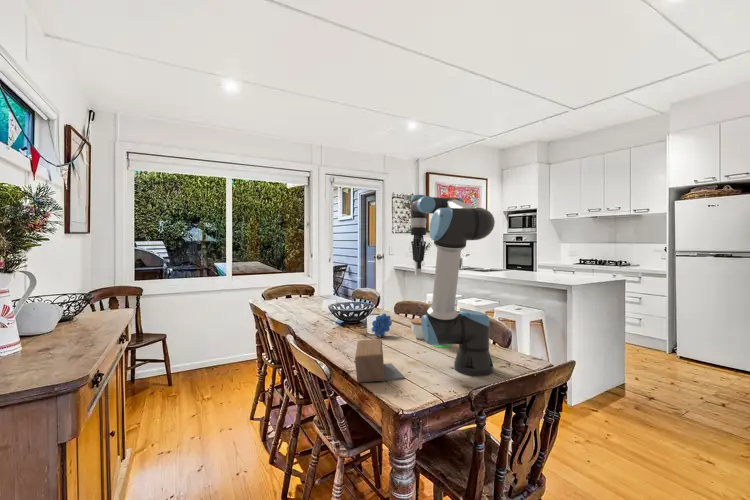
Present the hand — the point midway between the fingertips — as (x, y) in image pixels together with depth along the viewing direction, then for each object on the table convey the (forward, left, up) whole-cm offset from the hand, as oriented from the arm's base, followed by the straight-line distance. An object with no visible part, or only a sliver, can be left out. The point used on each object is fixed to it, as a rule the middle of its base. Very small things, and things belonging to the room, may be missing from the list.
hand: (418, 275), depth 181 cm
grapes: (+22, +12, -35) cm, 43 cm away
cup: (-4, -11, -35) cm, 36 cm away
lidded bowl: (+12, -8, -35) cm, 37 cm away
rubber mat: (-32, +27, -34) cm, 54 cm away
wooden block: (-22, +30, -29) cm, 47 cm away
